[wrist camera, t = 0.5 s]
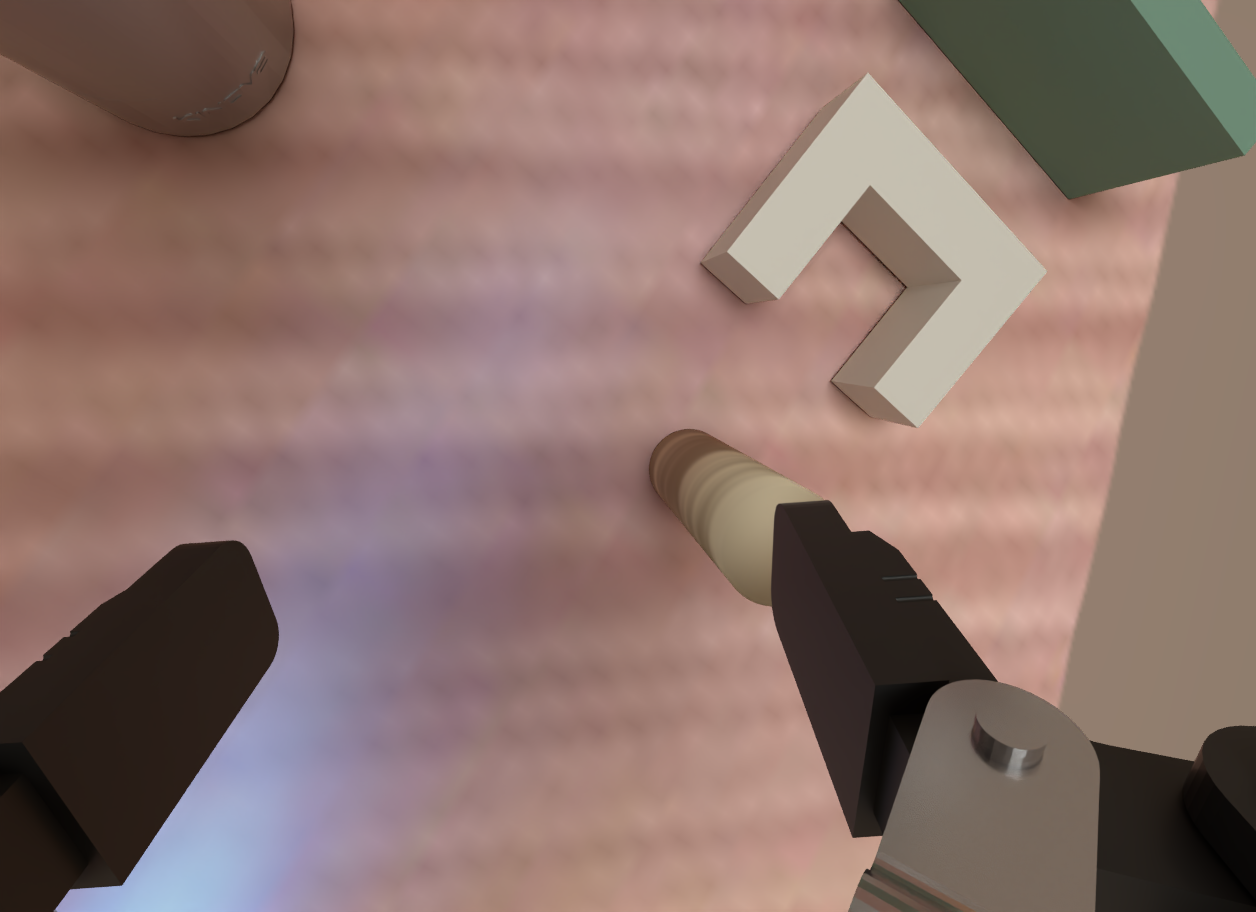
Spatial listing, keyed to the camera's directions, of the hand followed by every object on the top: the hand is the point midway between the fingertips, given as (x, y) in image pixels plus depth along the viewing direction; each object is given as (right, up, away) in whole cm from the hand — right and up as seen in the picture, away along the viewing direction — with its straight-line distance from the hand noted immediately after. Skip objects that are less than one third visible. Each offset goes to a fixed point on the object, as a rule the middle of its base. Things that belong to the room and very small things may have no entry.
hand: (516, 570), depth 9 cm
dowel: (+5, +1, +22) cm, 22 cm away
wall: (+20, +20, +20) cm, 35 cm away
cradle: (+13, +11, +21) cm, 27 cm away
